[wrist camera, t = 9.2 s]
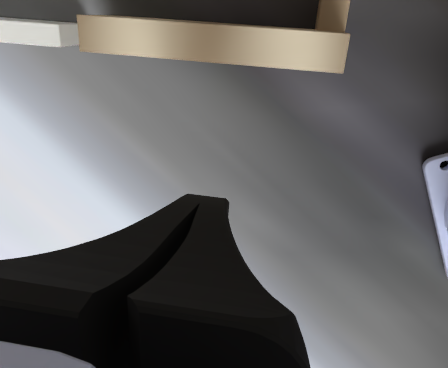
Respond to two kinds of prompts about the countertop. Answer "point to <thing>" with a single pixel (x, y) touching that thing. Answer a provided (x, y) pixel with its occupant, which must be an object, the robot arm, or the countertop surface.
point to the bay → (224, 40)
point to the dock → (38, 32)
